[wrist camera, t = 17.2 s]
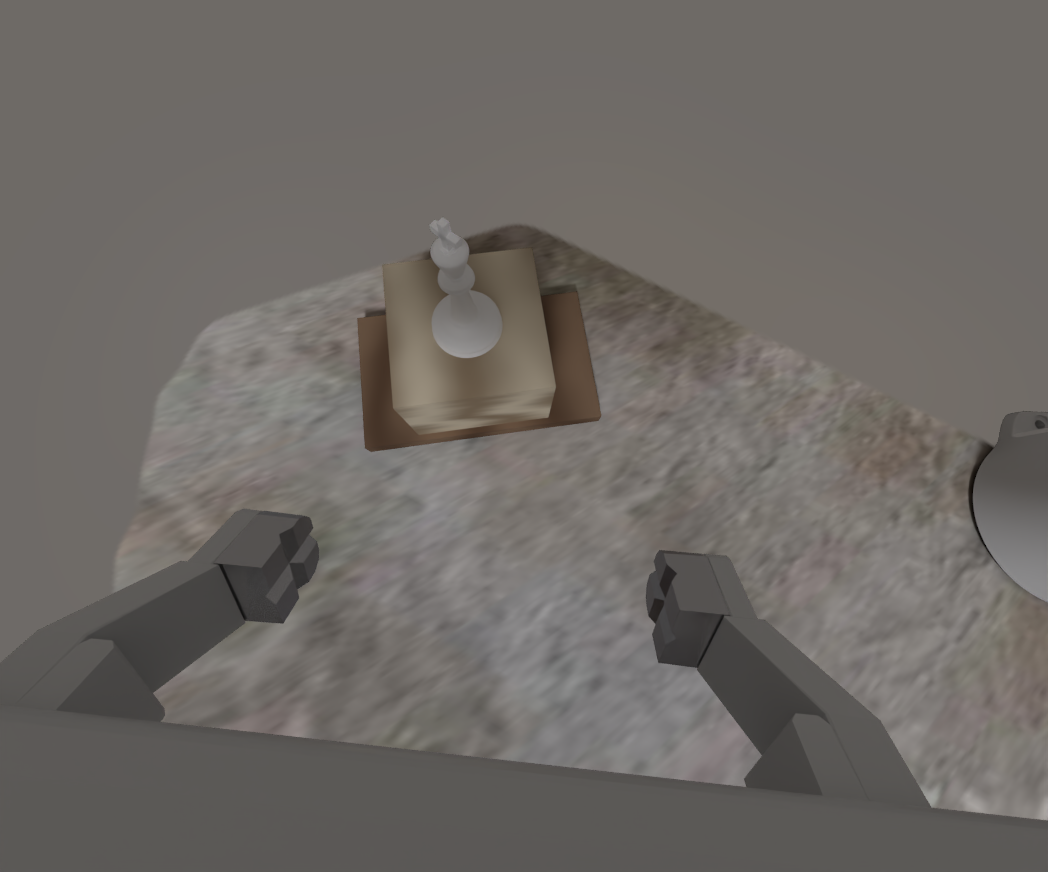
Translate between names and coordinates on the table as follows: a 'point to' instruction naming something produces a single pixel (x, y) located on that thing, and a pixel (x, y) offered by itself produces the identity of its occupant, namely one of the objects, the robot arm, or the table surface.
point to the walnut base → (563, 364)
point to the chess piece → (461, 300)
